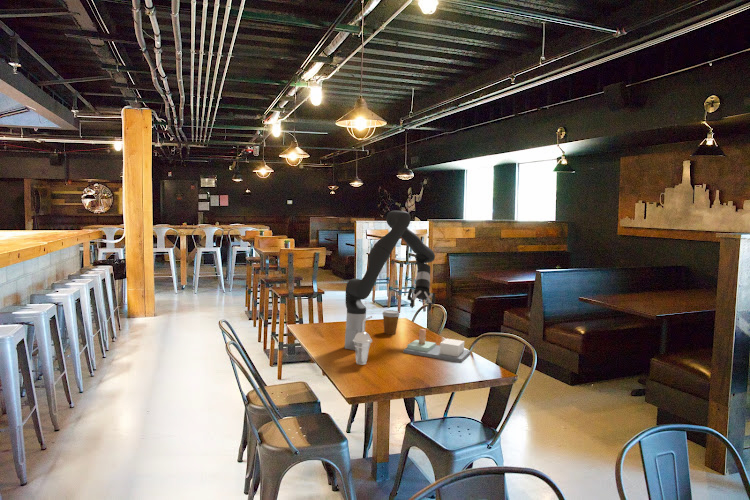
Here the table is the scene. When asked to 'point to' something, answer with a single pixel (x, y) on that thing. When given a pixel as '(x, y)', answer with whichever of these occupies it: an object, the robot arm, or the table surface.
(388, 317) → the disposable coffee cup
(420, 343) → the mint lid
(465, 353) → the slate board
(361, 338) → the cup with straw
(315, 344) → the table surface
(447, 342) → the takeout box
